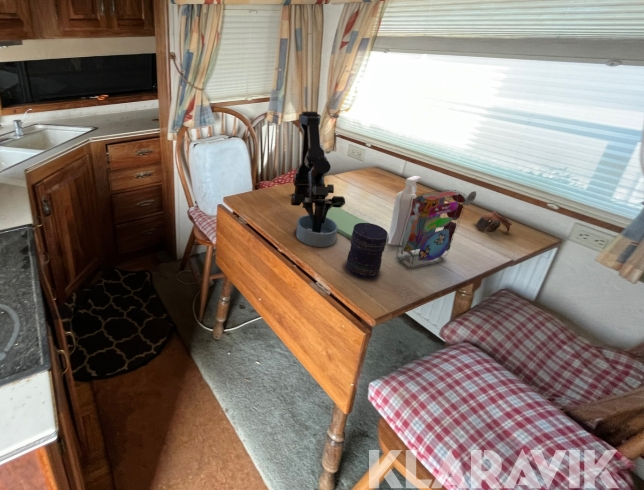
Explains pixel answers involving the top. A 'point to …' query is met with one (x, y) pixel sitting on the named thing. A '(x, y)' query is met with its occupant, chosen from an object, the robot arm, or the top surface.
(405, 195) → the white pump bottle
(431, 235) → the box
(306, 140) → the robot arm
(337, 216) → the cutting board
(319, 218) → the black post stand
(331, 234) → the bowl
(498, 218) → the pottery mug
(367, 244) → the storage jar
